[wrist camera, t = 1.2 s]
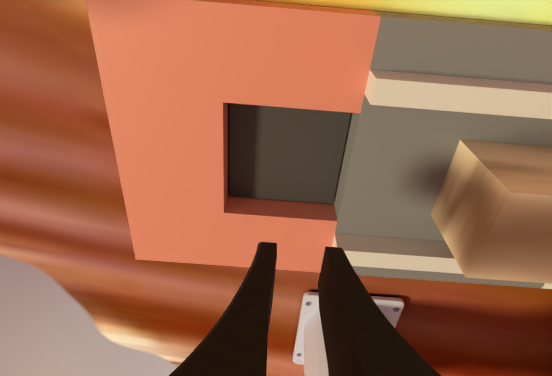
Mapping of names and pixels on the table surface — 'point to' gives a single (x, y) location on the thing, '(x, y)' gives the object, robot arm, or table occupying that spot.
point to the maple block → (498, 211)
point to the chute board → (307, 126)
